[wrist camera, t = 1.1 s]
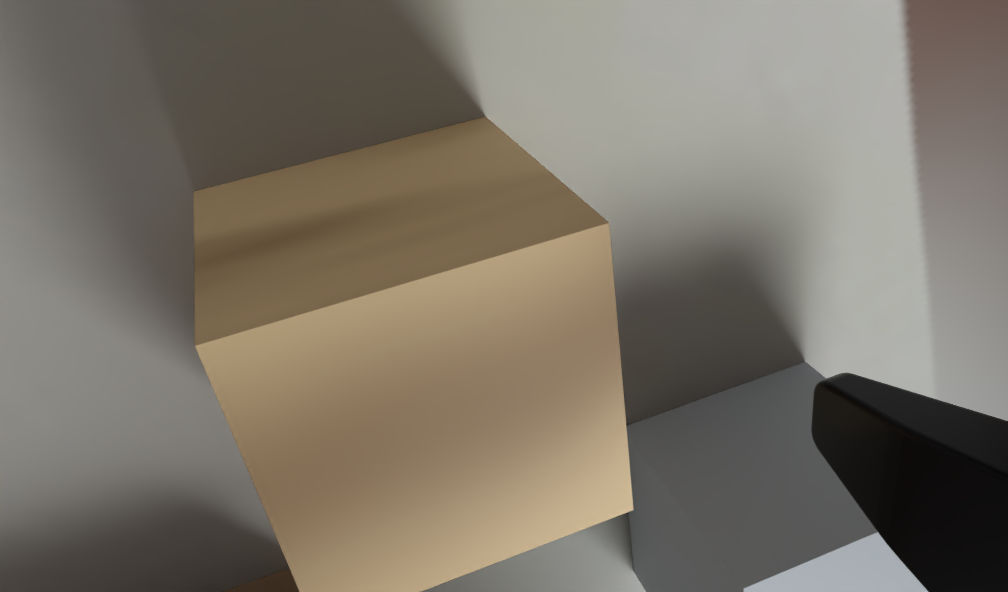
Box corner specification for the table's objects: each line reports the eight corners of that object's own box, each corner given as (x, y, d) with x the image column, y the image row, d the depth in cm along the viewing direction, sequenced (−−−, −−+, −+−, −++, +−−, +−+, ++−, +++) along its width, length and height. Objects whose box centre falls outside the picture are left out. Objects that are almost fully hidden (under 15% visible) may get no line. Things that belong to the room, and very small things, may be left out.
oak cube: (521, 347, 16) (633, 509, 12) (282, 425, 15) (316, 632, 11) (483, 115, 14) (609, 222, 10) (193, 189, 13) (194, 345, 9)
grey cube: (793, 504, 22) (933, 652, 18) (632, 569, 21) (740, 743, 17) (803, 359, 20) (968, 494, 15) (619, 425, 18) (743, 588, 14)
